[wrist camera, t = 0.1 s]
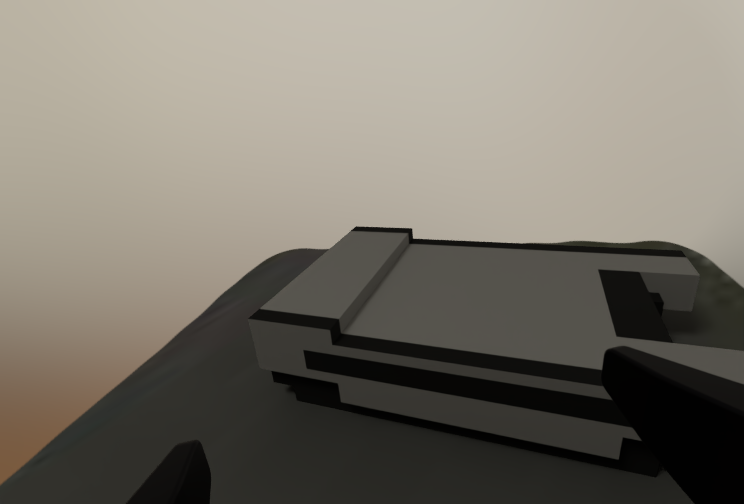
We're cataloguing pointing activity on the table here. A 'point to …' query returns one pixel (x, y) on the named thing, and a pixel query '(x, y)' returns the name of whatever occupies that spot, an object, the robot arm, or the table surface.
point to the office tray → (482, 337)
